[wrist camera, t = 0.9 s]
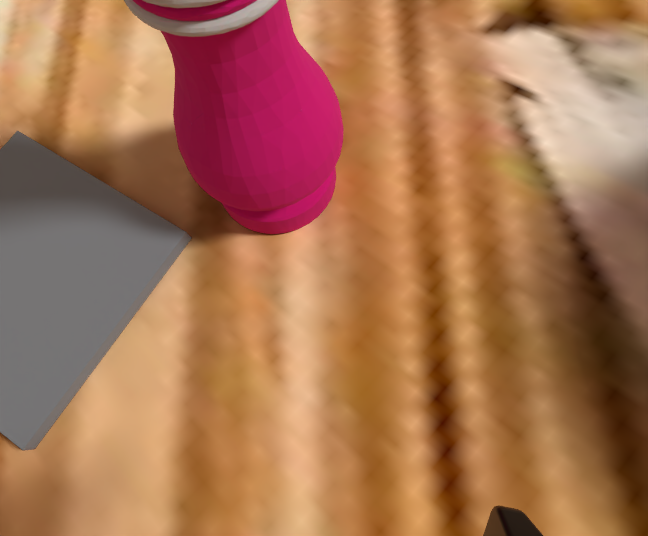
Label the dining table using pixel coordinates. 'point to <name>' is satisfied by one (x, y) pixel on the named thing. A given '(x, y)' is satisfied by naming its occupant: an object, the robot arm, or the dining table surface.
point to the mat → (66, 280)
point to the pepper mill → (250, 109)
